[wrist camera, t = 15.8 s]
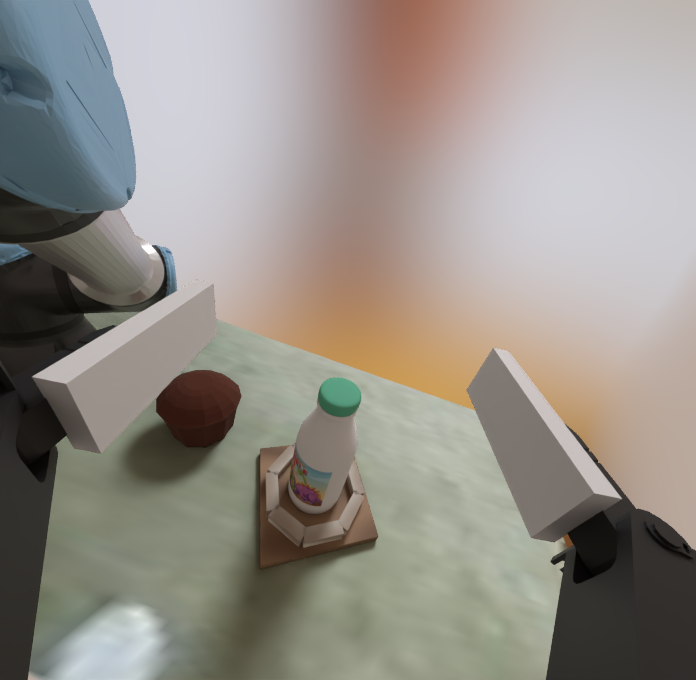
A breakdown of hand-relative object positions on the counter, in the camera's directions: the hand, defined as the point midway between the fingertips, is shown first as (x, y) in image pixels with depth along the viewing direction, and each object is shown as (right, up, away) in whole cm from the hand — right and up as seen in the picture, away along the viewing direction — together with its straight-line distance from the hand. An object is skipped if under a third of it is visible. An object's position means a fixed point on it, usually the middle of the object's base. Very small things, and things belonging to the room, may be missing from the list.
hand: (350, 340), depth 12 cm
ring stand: (-5, -23, +27) cm, 35 cm away
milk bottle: (-5, -22, +26) cm, 35 cm away
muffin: (-25, -15, +32) cm, 43 cm away
